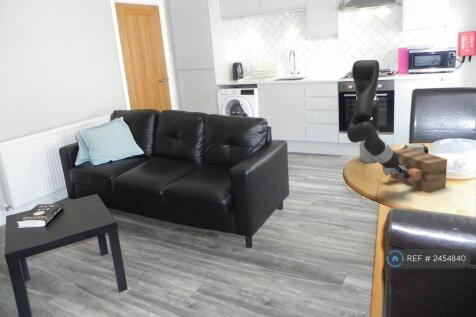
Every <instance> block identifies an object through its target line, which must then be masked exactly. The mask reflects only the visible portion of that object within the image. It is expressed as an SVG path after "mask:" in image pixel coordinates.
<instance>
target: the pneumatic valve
mask: <svg viewBox="0 0 476 317" xmlns="http://www.w3.org/2000/svg"><path fill="white" fill-rule="evenodd" d="M404 148H411V149H415V150H418V151H421V152H425V153H428V154H429V147H428V146H426V145H425V144H424V143H421V144H420V143H419V144H418V143H413V144H412V143H411V144H404V147H402V148H401V149H404Z"/></svg>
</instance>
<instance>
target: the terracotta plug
mask: <svg viewBox="0 0 476 317" xmlns="http://www.w3.org/2000/svg"><path fill="white" fill-rule="evenodd" d="M422 173H423V170H422V169H419V168H413V169H409V171H408V174H409V175H410V177H409V178H408V179H407V180H408V181H409V182H413V181H416V180H420V179H422Z"/></svg>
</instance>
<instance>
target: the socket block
mask: <svg viewBox="0 0 476 317" xmlns="http://www.w3.org/2000/svg"><path fill="white" fill-rule="evenodd" d="M403 148H404V147H403ZM393 151H394V152H395V153H396V154H397V155H398V157H399V160H398V161H400V162H402V163H403V166H404V167H408V168H409V169H413V168H419V169H422V170H423V173H422V179H420V180H416V181H413V182H409V181H408V180H407V179H405V178H404V177H402V176H401V175H400V174H398V173H394V174H391V175H390V178H392V179H393V180H396V181H399V182H402V183H403V184H406V185H408V186H411V187H413V188H416V189H418V190H421V191H423V192H425V193H431V192H434V191H438V190H441V189H445V188H446V186H447V168H448V158H444V157H441V156H438V155H434V154H432V153H431V154H430V153H429V152H428V153H425V152H421V151H418V150H415V149H411V148H404V149H402V148H400V149H396V150H393Z"/></svg>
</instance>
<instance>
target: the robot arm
mask: <svg viewBox="0 0 476 317" xmlns="http://www.w3.org/2000/svg"><path fill="white" fill-rule="evenodd" d="M351 74H352V79H353V82H354V85H355V87H354V89H355V95H356V100H355V103H354V106H353V115H352V117H351V120H350V122H349V124H348V127H347V129H346V131H347V132H346V136H347V139H348V140H349V141H350V142H351V143H354V144H356V143H359V160H360V162H362V163H365V164H368V163H369V164H373V163H374V164H375V163H379V164H380V165H381V166H383V167H384V168H390V169H391V170H393V171H394V172H397V173H398V174H400V175H401V176H402V177H404V178H405V179H408V178H409V177H410V175H409V174H408V171H409V168H408V167H404V166H403V165H402V164H401V162H400V161H398V160H399V157H398V155H397V154H396V153H395V152H394V151H395V150H394V149H392V148H391V146H390V145H388V144H387V143H385V141H383V140H382V138H381V137H380V136H379V134H380V131H379V130H380V128H379V125H380V124H379V115H380V102H379V100H378V99H375V98H376V96H377V88H378V87H377V86H378V81H379V77H380V62H379V61H378V60H377V59H360V60H356V61H355V62H354V63H353V64H352V68H351Z"/></svg>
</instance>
